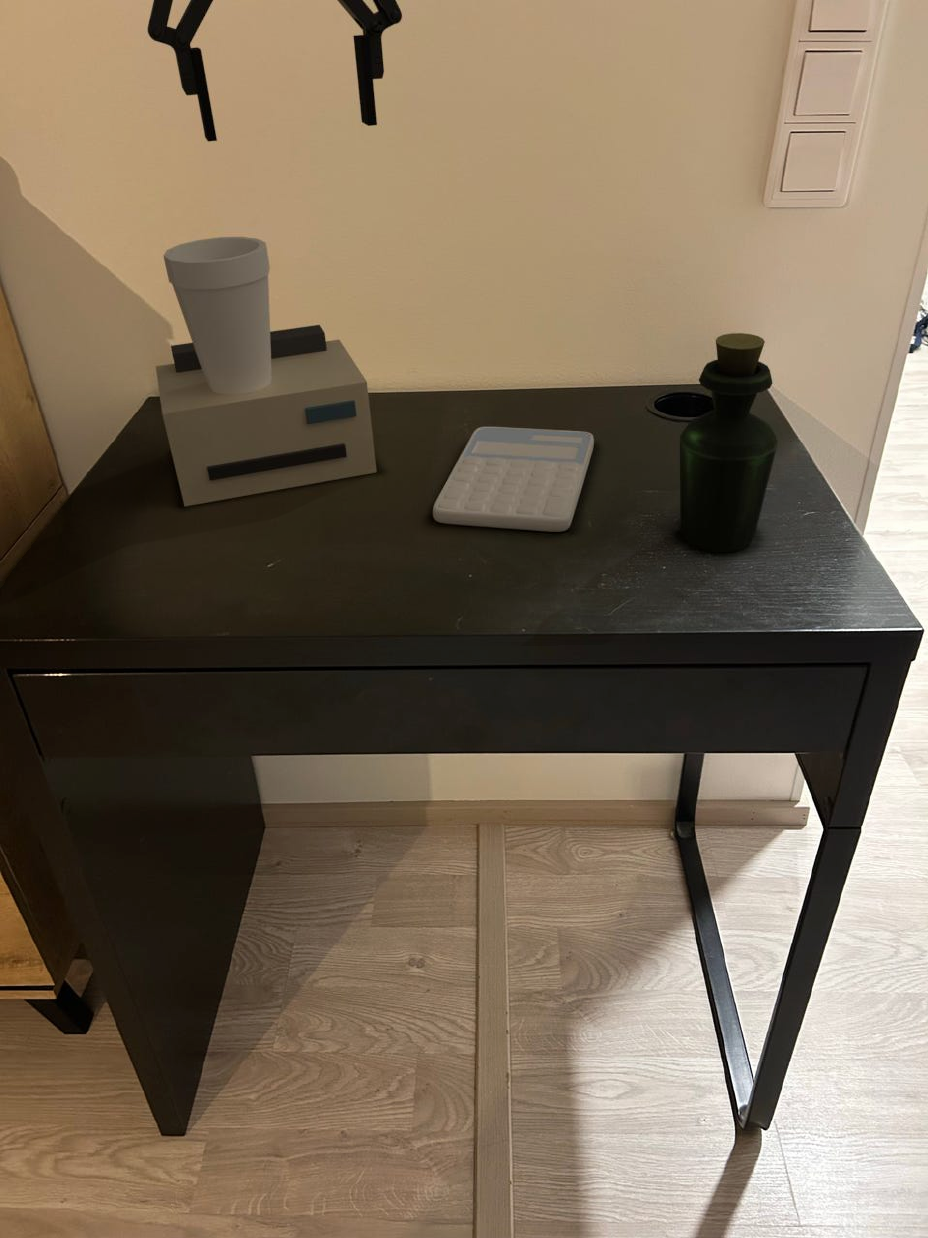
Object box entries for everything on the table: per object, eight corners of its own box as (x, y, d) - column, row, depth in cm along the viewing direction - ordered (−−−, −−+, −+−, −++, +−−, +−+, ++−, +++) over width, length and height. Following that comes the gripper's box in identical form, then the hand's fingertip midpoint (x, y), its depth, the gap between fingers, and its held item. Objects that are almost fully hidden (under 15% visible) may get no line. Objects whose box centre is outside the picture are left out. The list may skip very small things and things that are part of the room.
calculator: (430, 525, 91) (428, 507, 90) (476, 438, 107) (475, 422, 106) (569, 535, 88) (569, 517, 87) (595, 444, 104) (596, 428, 103)
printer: (184, 508, 96) (157, 394, 89) (176, 452, 108) (151, 347, 101) (377, 473, 101) (365, 363, 94) (349, 423, 112) (337, 321, 105)
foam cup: (306, 375, 97) (286, 241, 90) (243, 406, 91) (216, 266, 84) (238, 361, 102) (214, 233, 94) (173, 390, 96) (142, 256, 88)
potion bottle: (763, 517, 89) (791, 326, 79) (763, 562, 83) (794, 360, 72) (674, 511, 91) (691, 322, 81) (668, 554, 85) (685, 356, 74)
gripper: (400, -192, 75) (420, 112, 87) (69, -184, 69) (139, 139, 82) (426, -206, 69) (444, 122, 81) (66, -199, 63) (142, 152, 76)
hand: (291, 131), depth 81 cm, fingers open, 13 cm apart
